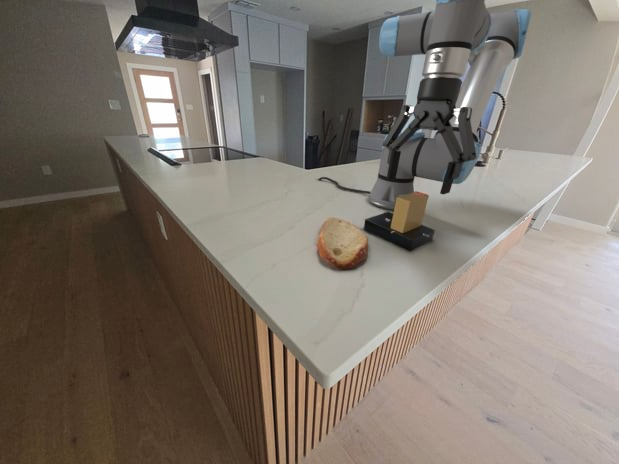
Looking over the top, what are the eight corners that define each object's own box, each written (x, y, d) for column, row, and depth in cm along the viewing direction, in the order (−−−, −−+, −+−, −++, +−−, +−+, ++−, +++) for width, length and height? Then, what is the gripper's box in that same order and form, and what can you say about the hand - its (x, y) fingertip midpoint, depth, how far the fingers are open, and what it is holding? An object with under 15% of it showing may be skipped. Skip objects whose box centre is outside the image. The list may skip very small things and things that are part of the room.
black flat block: (360, 230, 68) (362, 219, 66) (388, 220, 75) (390, 210, 73) (411, 255, 57) (414, 242, 56) (438, 241, 64) (441, 229, 63)
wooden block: (402, 233, 60) (410, 200, 56) (390, 228, 62) (397, 196, 59) (420, 225, 65) (429, 194, 61) (408, 221, 67) (416, 190, 63)
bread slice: (334, 221, 72) (335, 209, 70) (391, 246, 60) (394, 232, 59) (284, 240, 61) (284, 226, 59) (342, 275, 49) (344, 259, 47)
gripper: (377, 78, 56) (363, 175, 65) (509, 71, 38) (464, 204, 48) (397, 82, 60) (382, 172, 69) (524, 77, 43) (480, 197, 52)
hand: (415, 185), depth 59 cm, fingers open, 13 cm apart
